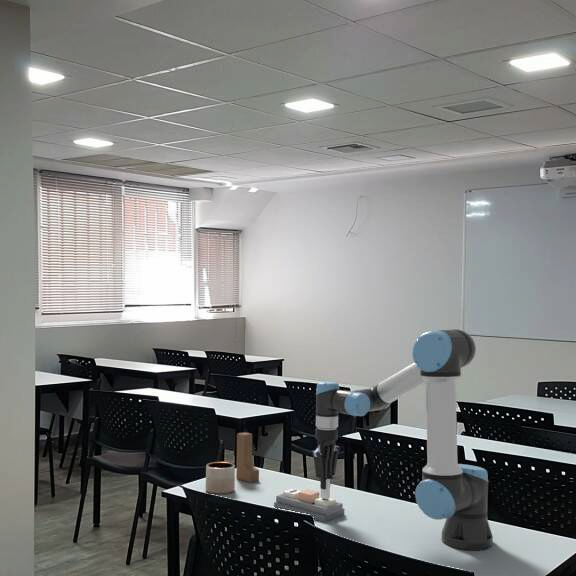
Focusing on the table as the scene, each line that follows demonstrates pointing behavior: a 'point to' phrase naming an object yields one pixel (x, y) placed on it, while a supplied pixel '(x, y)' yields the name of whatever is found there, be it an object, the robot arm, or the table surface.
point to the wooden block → (245, 459)
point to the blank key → (308, 496)
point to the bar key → (292, 494)
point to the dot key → (325, 502)
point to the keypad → (310, 508)
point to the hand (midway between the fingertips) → (325, 498)
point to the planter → (220, 477)
